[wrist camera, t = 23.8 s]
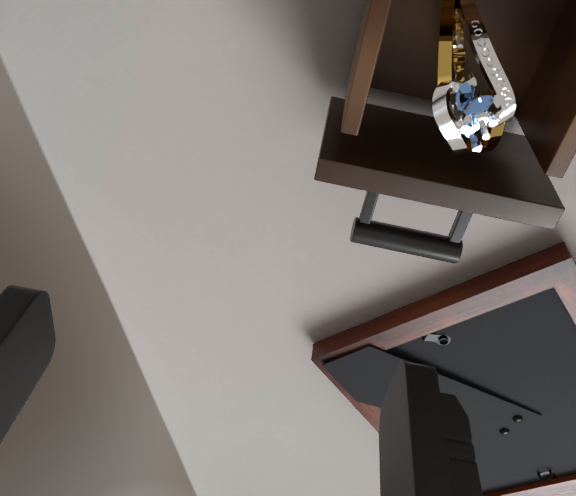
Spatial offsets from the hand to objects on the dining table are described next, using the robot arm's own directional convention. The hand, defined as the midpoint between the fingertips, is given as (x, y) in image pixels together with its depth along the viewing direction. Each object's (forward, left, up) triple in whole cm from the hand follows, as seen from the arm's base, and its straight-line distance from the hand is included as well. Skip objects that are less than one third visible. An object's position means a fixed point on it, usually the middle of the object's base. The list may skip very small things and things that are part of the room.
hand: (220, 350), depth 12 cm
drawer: (+7, +1, -22) cm, 23 cm away
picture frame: (+20, -25, -23) cm, 39 cm away
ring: (+7, +2, -21) cm, 22 cm away
